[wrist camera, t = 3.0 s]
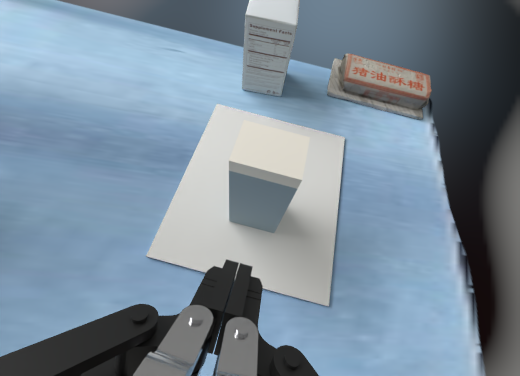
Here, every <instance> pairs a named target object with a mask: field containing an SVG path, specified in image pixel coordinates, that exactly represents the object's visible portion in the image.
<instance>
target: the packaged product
mask: <svg viewBox="0 0 520 376" xmlns="http://www.w3.org/2000/svg"><path fill="white" fill-rule="evenodd" d="M430 84H431V81H430V76H429V75H426V74H423V73H420V72H416V71H412V70H409V69H405V68H402V67H397V66H394V65H390V64H387V63H383V62H379V61H375V60H371V59H367V58H364V57H360V56H357V55H353V54H345V55H344V58H343V60H339V59H336V58H335V59H334V62H333V65H332V70H331V76H330V79H329V84H328V91H327V95H329V96H332V97H336V98H340V99H346V100H349V101H351V102H355V103H359V104H362V105H366V106H369V107H373V108H376V109H379V110H383V111H387V112H392V113H395V114H400V115H404V116H407V117H411V118H414V119H418V120H421V119H422V118H423V113H422V108H423V107H425V106H426V105H427V104H428V100H429V97H430V95H431V91H432V90H431V88H430V87H431V86H430Z"/></svg>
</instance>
